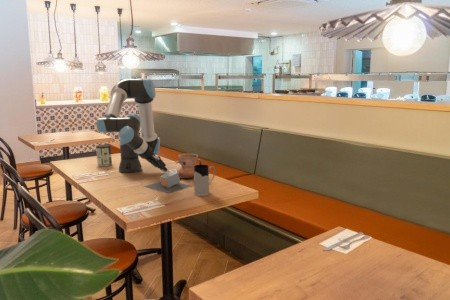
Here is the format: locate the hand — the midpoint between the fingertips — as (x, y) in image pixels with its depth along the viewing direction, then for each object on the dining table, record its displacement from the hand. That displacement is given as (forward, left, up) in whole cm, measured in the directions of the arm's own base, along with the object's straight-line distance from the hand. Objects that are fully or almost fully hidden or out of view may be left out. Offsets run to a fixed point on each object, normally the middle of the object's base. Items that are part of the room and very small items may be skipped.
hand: (168, 173), depth 215 cm
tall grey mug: (+24, +6, -8) cm, 26 cm away
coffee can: (-81, +10, -8) cm, 82 cm away
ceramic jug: (-6, +23, -8) cm, 25 cm away
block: (0, -3, -5) cm, 6 cm away
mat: (0, 0, -8) cm, 8 cm away
